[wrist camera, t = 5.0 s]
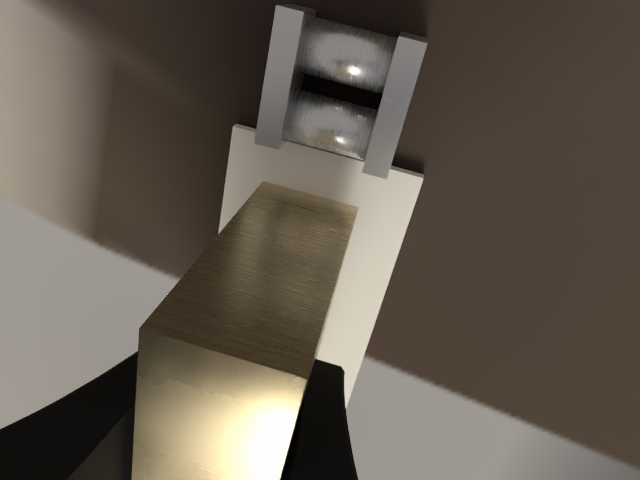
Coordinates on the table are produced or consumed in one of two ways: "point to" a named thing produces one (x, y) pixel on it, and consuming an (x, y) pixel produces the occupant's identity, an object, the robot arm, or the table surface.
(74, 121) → the table surface
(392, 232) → the pad
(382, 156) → the chain ends
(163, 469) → the wood grain block
